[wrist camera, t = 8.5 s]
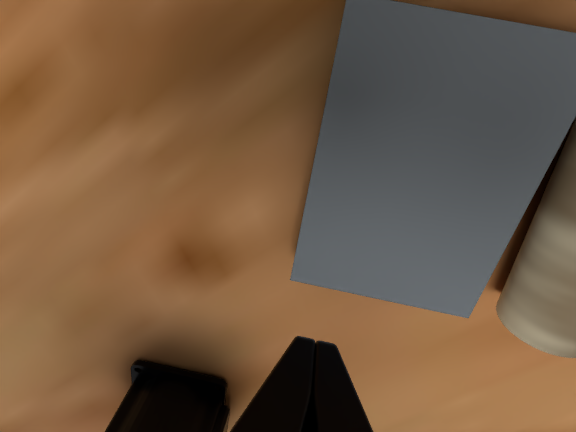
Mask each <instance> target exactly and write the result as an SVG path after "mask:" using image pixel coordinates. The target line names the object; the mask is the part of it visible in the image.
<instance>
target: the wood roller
mask: <svg viewBox="0 0 576 432" xmlns="http://www.w3.org/2000/svg"><path fill="white" fill-rule="evenodd" d="M496 311H497V315H498V317H499V319H500V320H501V322H502V323H503V324H504V326H505V327H506V328H507V329H508V330H509V331H510V332H511V333H513V334H514V335H515V336H516V337H518V338H519V339H521V340H522V341H524V342H525V343H527V344H529V345H531V346H532V347H534V348H537V349H539V350H541V351H544V352H546V353H549V354H552V355H556V356H561V357H567V358H576V119H575V121H574V124H573V126H572V128H571V131H570V133H569V136H568V138H567V140H566V143H565V145H564V147H563V150H562V152H561V154H560V157H559V159H558V161H557V164H556V166H555V168H554V171H553V173H552V175H551V178H550V180H549V182H548V185H547V187H546V189H545V192H544V194H543V196H542V199H541V201H540V204H539V206H538V208H537V211H536V213H535V215H534V218H533V220H532V222H531V225H530V227H529V229H528V232H527V234H526V236H525V239H524V241H523V243H522V246H521V248H520V250H519V253H518V255H517V257H516V260H515V262H514V264H513V267H512V269H511V272H510V274H509V276H508V279H507V281H506V283H505V286H504V288H503V290H502V293H501V295H500V297H499V300H498V302H497V305H496Z"/></svg>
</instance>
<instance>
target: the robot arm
mask: <svg viewBox="0 0 576 432" xmlns="http://www.w3.org/2000/svg"><path fill="white" fill-rule="evenodd" d="M131 377H132V385H131V387H130V389H129V390H128V392H127V394H126V396H125V397H124V399H123V401H122V403H121V404H120V406H119V408H118V410H117V411H116V413H115V415H114V417H113V418H112V420H111V422H110V424H109V425H108V427H107V429H106V430H105V432H227V429H228V421H229V413H230V409H229V407H228V406H227V405H225V401H226V392H227V382H226V381H225V380H223V379H220V378H216V377H211V376H207V375H203V374H198V373H194V372H190V371H185V370H181V369H176V368H172V367H168V366H163V365H159V364H155V363H150V362H146V361H141V360H136V361H135V362H134V363H133V365H132V366H131ZM230 432H373V430H372V428H371V425H370V423H369V421H368V418H367V416H366V414H365V411H364V409H363V407H362V404H361V402H360V400H359V397H358V395H357V392H356V390H355V388H354V385H353V383H352V381H351V378H350V376H349V374H348V371H347V369H346V367H345V364H344V362H343V360H342V357H341V355H340V353H339V350H338V348H337V346H336V345H335V344H333V343H328V342H324V341H317V342H316V343H315V340H314V339H310V338H306V337H301V336H297V337H295V338H294V340H293V341H292V342H291V344H290V345H289V347H288V348H287V350H286V351H285V353H284V354H283V356H282V357H281V358H280V360H279V361H278V363H277V364H276V366H275V367H274V369H273V370H272V371H271V373H270V374H269V376H268V377H267V379H266V380H265V382H264V383H263V384H262V386H261V387H260V389H259V390H258V392H257V393H256V395H255V396H254V397H253V399H252V400H251V402H250V403H249V405H248V406H247V408H246V409H245V410H244V412H243V413H242V415H241V416H240V418H239V419H238V421H237V422H236V424H235V425H234V426H233V428H232V429H231V431H230Z"/></svg>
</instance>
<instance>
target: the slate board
mask: <svg viewBox="0 0 576 432" xmlns="http://www.w3.org/2000/svg"><path fill="white" fill-rule="evenodd" d="M575 117H576V33H573V32H568V31H562V30H556V29H551V28H545V27H539V26H534V25H528V24H522V23H516V22H511V21H505V20H499V19H494V18H488V17H482V16H477V15H471V14H465V13H460V12H454V11H448V10H443V9H437V8H431V7H426V6H420V5H414V4H409V3H403V2H397V1H392V0H346V4H345V9H344V14H343V19H342V24H341V29H340V34H339V39H338V44H337V49H336V54H335V59H334V64H333V69H332V74H331V79H330V84H329V89H328V94H327V99H326V104H325V109H324V114H323V119H322V124H321V129H320V134H319V139H318V144H317V149H316V153H315V158H314V163H313V168H312V173H311V178H310V183H309V188H308V193H307V198H306V203H305V208H304V213H303V218H302V223H301V228H300V233H299V238H298V243H297V248H296V253H295V258H294V263H293V268H292V273H291V278H290V280H292V281H297V282H301V283H306V284H311V285H315V286H320V287H325V288H329V289H334V290H339V291H343V292H348V293H353V294H357V295H362V296H367V297H371V298H376V299H381V300H385V301H390V302H395V303H399V304H404V305H409V306H413V307H418V308H423V309H427V310H432V311H437V312H441V313H446V314H451V315H455V316H460V317H465V318H469V316H470V314H471V312H472V311H473V309H474V307H475V305H476V303H477V301H478V299H479V297H480V295H481V294H482V292H483V290H484V288H485V286H486V284H487V282H488V280H489V279H490V277H491V275H492V273H493V271H494V269H495V267H496V265H497V263H498V262H499V260H500V258H501V256H502V254H503V252H504V250H505V248H506V247H507V245H508V243H509V241H510V239H511V237H512V235H513V233H514V231H515V230H516V228H517V226H518V224H519V222H520V220H521V218H522V216H523V215H524V213H525V211H526V209H527V207H528V205H529V203H530V201H531V200H532V198H533V196H534V194H535V192H536V190H537V188H538V186H539V184H540V183H541V181H542V179H543V177H544V175H545V173H546V171H547V169H548V168H549V166H550V164H551V162H552V160H553V158H554V156H555V154H556V152H557V151H558V149H559V147H560V145H561V143H562V141H563V139H564V137H565V136H566V134H567V132H568V130H569V128H570V126H571V124H572V122H573V120H574V119H575Z"/></svg>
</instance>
